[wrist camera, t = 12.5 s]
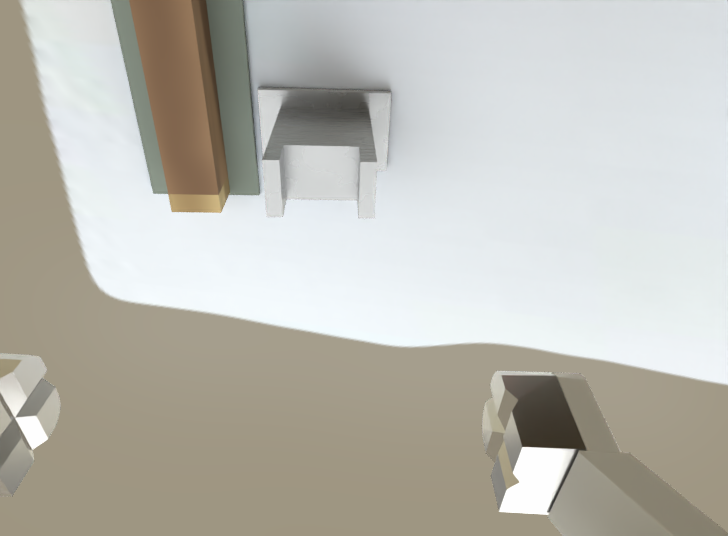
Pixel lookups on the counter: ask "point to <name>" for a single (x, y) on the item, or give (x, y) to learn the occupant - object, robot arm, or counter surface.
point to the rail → (183, 101)
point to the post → (323, 145)
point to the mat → (230, 87)
